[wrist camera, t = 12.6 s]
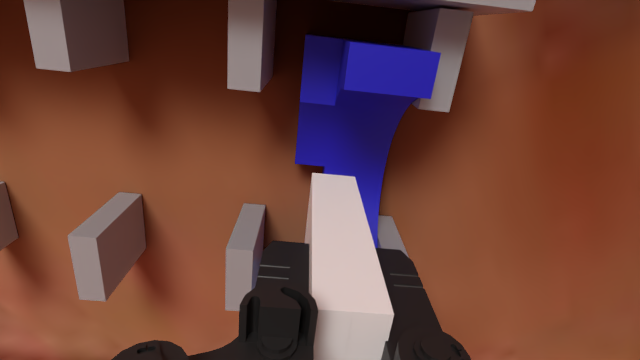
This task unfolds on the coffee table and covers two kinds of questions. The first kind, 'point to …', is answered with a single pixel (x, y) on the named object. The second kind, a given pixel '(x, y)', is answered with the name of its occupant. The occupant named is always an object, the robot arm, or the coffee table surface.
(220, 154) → the coffee table surface
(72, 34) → the grey peg rack
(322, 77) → the blue curved block
